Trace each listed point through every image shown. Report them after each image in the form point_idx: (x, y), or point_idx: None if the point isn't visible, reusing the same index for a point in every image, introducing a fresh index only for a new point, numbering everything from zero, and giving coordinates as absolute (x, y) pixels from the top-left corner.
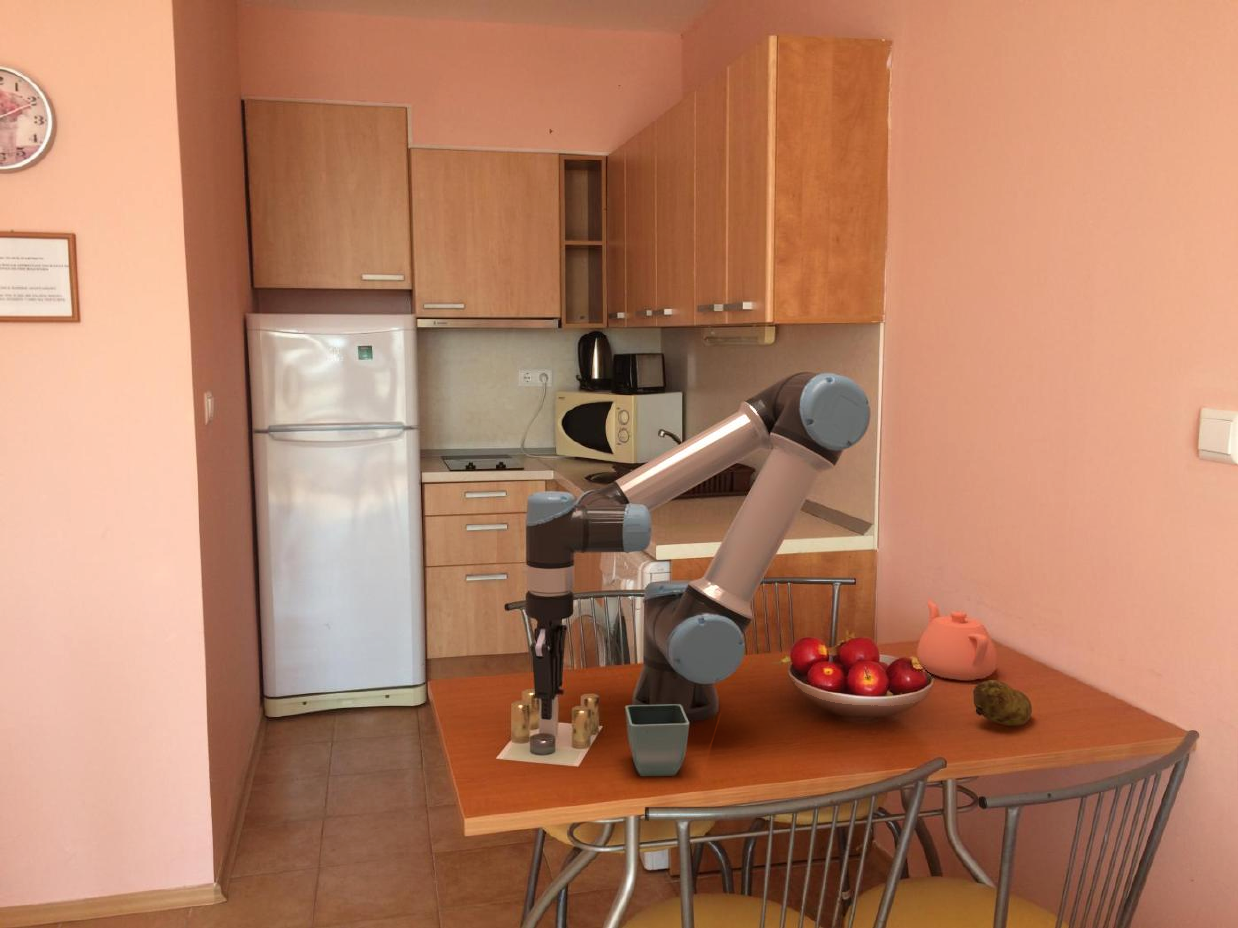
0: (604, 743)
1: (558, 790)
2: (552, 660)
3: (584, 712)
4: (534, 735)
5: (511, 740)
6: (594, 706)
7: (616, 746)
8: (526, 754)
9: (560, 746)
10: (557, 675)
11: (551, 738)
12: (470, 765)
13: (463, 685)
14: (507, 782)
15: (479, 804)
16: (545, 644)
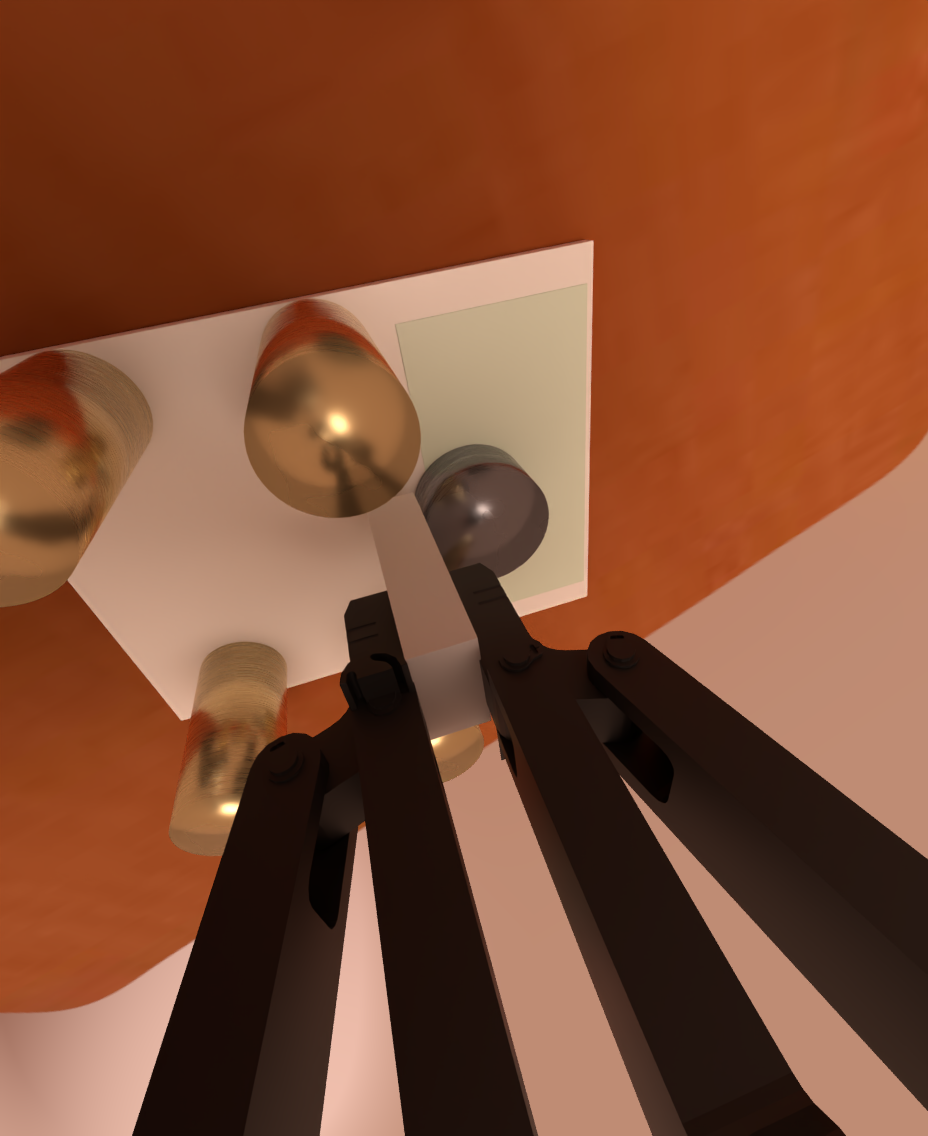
0: (148, 242)
1: (813, 231)
2: (782, 1055)
3: (396, 378)
4: None
5: None
6: (27, 429)
7: (133, 113)
8: None
9: None
10: (450, 830)
11: (476, 492)
12: (623, 626)
13: (40, 984)
14: (736, 466)
15: (883, 455)
16: None
